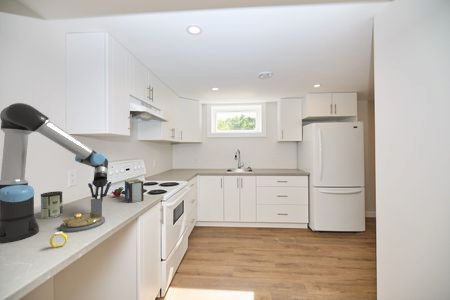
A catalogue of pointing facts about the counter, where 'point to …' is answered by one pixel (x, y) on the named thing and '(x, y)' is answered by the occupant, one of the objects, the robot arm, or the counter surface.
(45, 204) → the coffee can
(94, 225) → the grey round base
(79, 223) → the gold disc with cubes
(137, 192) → the protein box
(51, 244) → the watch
